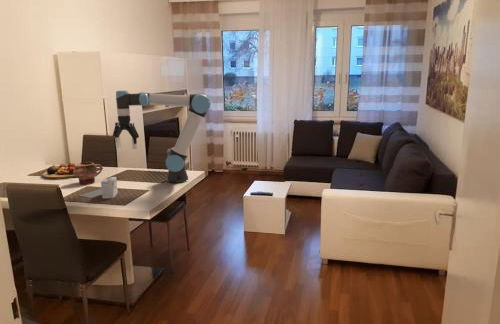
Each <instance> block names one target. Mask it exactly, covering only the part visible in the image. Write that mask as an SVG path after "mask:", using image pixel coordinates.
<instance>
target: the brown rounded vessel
mask: <svg viewBox="0 0 500 324" xmlns="http://www.w3.org/2000/svg"><path fill="white" fill-rule="evenodd" d="M97 168H100V170H99V171H98V169H97ZM97 171H98V172H97ZM102 171H103V166H102V165H101V164H99V163H98V164H97V163H96V164H95V163H94V162H90V161H89V162H85V161H84V162H81V163H78V164H75V169H74V171H73V174H74V175H75V176H77V177H76V178H78V183H79V184H80V185H90V184H94V183H95V181H96V180H95V179H96V178H95V177H98V176H99V175H100V174H101V172H102Z"/></svg>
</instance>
